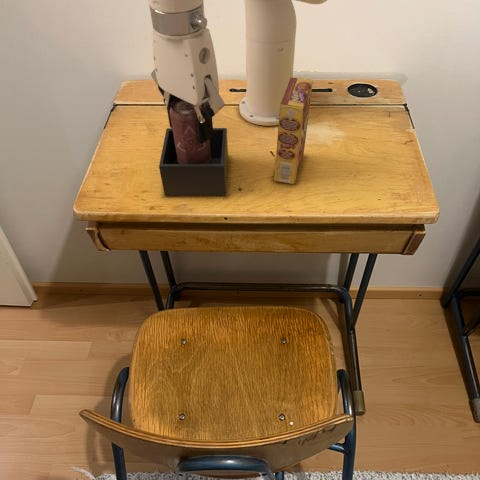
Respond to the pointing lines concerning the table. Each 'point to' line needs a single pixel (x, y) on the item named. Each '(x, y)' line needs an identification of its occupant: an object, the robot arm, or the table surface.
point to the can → (188, 134)
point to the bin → (195, 169)
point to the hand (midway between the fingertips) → (191, 131)
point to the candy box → (292, 129)
